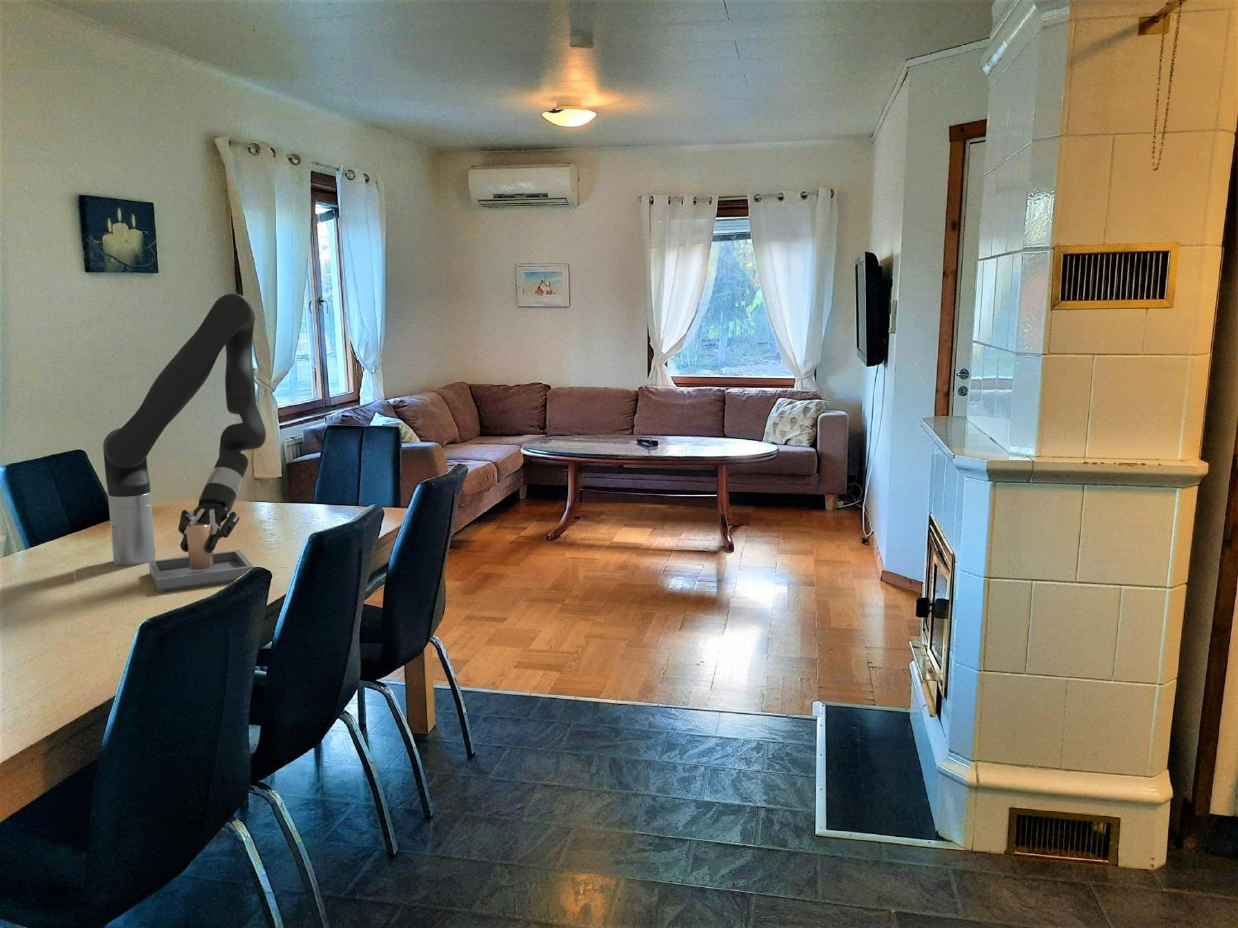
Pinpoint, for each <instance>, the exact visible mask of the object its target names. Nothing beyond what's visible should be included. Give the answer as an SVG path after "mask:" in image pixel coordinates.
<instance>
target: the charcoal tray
mask: <svg viewBox="0 0 1238 928" xmlns="http://www.w3.org/2000/svg"><path fill="white" fill-rule="evenodd" d="M213 560H214V566H213V567H211V568H208V569H203V570H192V569H190V568H189V556H188V555H187V556H180V557H179V556H178V557H172V558H170V557H169V558H164V559H163V558H162V559H155V560H153V561H149V562H148V565H149V566H148V567H149V574H150V577H151V579H152V582H153V584H154V586H155V588H156V591H157V593H158V594H161V593H168V592H174V591H181V590H188V589H195V588H196V589H197V588H203V587H204V588H205V587H209V586H215V585H216V586H217V585H218V586H219V585H223V584H231V583H232V584H233V583H234V582H233V581H235V580H236V579H237V578H239V577H240V576H242V575H243V574H245V573H246V572H247V571H248V570H250V569H253V568H254V565H253V564H252V563H251V561H249V559H248V558H247V557H246V556H245V554H243V553H242V551H241V550H240V549H237V550H235V549H234V550H228V551H221V552H220V551H219V552H213ZM254 569H255V568H254Z"/></svg>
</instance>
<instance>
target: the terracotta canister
mask: <svg viewBox="0 0 1238 928" xmlns="http://www.w3.org/2000/svg"><path fill="white" fill-rule="evenodd" d="M186 531H187V544H188V552H187V556H189V568H190V569H192V570H203V569H208V568H211V567H213V566H214V560H213V553H214V552H213V551H214V550H213V551H212V552H211V553H207V552H206V551H205V550H204V547H205V544H206V542H207V540H208V537H209V535H212V534H211V524H210V523H195V524H190V525H187V526H186Z"/></svg>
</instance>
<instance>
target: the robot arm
mask: <svg viewBox="0 0 1238 928" xmlns="http://www.w3.org/2000/svg"><path fill="white" fill-rule="evenodd" d="M255 320H256V315H255V312H254V309H253V307H252V305H251V304H250V301H248V299H247V298H245V297H244V296H243V295H241V294H238V293H227V294H226V293H225V294H224V295H222V296H220V297H219V298H218V299H217V300H215V302H214V304H213V305H212V307H211V308H210V309H209V311H208V313H207V315H206V316H205V317H204V319H203V321H202V322H201V324H200V326H199V327H198V328H197V330H196V331H195V332H194V333H193V335H192V336H191V337H190V338H188V340H187V341H186V342H185V344H184V345H183V346H182V347H181V348H180V349H179V350H178V352H177V353H176V354H175V355H174V356H173V357H172V358H171V360H169V362H168V363H167V364H166V365H165V367H164V368H163V369H162V371H160V373H159V375H158V376H157V377H156V379H155V380H154V381H153V383H152V385H151V386H150V388H149V390H148V391H147V394H146V396H145V397H144V398H143V401H142V403H141V405H140V406H139V407H138V409H137V411H136V412H135V413H134V414H133V415H132V417H130V419H128V421H127V422H126V423H125V424H124V425H123V426H122V427H121V428H120V427H119V428H117V429H114V430H111V432H109V433H108V434H107V435H106V437H105V438H104V440H103V444H102V445H103V446H102V450H103V451H102V452H103V461H104V471H105V481H106V489H107V497H108V498H107V499H108V500H107V501H108V508H109V509H108V510H109V511H108V512H109V520H110V521H109V522H110V524H109V528H110V529H109V530H110V538H111V551H112V561H113V564H114V566H133V565H142V564H145V563H149V561H154V560H157V559H156V545H155V542H156V541H155V531H154V520H153V518H154V517H153V509H152V508H153V506H152V495H151V494H152V493H151V482H150V478H149V470H148V469H149V468H148V461H147V460H148V459H147V457H148V455H149V453H150V452H151V450H152V448H153V446H154V445H155V444H156V442H157V441H158V439H159V437H160V436H161V435H162V432H164V430H165V428H166V427H167V426H168V425H169V424H170V423H171V422H172V421H173V420H174V419H175V418H176V417H177V416H178V415H179V413H180V412H181V411H182V410H183V409H184V408H185V407H186V406H187V405H188V404H189V402H191V400H192V399H193V398H194V397H195V396H196V394H197V393H198V391H199V390H200V389H201V387H202V386H203V385H204V384H205V382H206V381H207V380H208V377H210V374H211V372H212V370H213V368H214V366H215V363H216V361H217V359H218V356H219V355H220V353H221V352H222V350H223V349H224V347H225V355H226V357H225V358H226V359H225V360H226V362H225V363H226V364H225V373H224V374H225V375H224V384H225V385H224V386H225V388H224V389H225V400H226V409H227V411H228V412H229V413H230V414H232V415H233V414H234V415H239V416H240V419H241V422H239V423H233V424H230V425H228V426H226V427H225V428H224V430H223V431H222V433H221V434H220V441H219V448H218V449H219V452H218V457H217V458H218V459H217V460H216V462H215V465H214V467H213V470H212V471H211V473H210V474H209V476H208V478H207V480H206V482H205V485H204V487H203V490H202V491H201V494H200V496H199V499H198V504H197V506H196V508H194V509H193V510H192V511H187V509H183V510H182V511H181V513H180V519H179V523H178V528H177V529H178V531H179V533H181V535H182V536H183V537H182V539H181V542H180V544H179V545H180V546H179V547H180V549H181V550H182V551H183V553H188V544H187V531H186V526H187V525H190V524H195V523H210V524H211V534H212V535H209V537H208V540H207V542H206V544H205V547H204V550H205V551H206V552H207V553H211V552H212V551H215V549H216V547H217V544H218V541H219V540H221V538H224V539H225V538H226V539H227V538H228V537H229V536H230V534H231V533H232V532H233V531H234V528H235V527H236V525H237V523H238V522H239V521H240V516H239V514H237V513H236V511H232V509H233V506H234V504H235V501H236V499H237V497H238V494H239V491H240V488H241V485H242V482H243V479H244V477H245V474H246V472H247V469H248V466H249V459H248V458H247V456H246V455H245V454H244V453H242V452H243V451H244V452H245V451H249V450H256V449H260V448H261V447H263V445H264V443H265V441H266V438H267V437H266V436H267V431H266V428H265V424H264V422H263V420H262V417H261V414H260V411H259V409H258V406H257V396H256V395H257V394H256V382H255V373H254V364H253V337H254V329H255Z"/></svg>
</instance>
